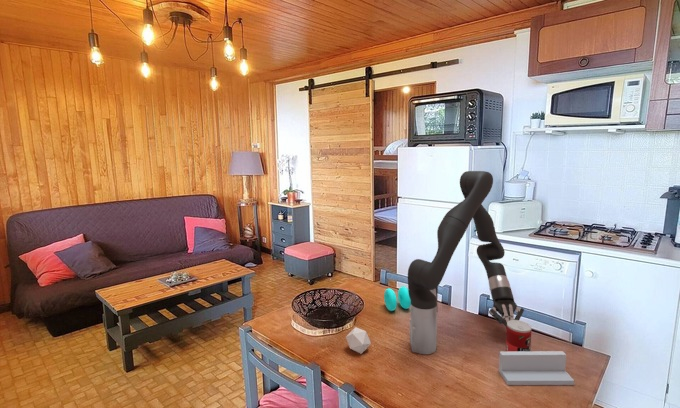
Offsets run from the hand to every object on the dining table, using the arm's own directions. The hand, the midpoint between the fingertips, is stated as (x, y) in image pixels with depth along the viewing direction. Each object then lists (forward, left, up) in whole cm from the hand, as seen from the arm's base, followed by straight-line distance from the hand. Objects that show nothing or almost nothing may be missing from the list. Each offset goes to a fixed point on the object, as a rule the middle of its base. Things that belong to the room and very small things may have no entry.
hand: (512, 334), depth 132 cm
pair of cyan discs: (-38, +32, -5) cm, 50 cm away
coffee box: (-24, +32, -5) cm, 40 cm away
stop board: (0, -18, -5) cm, 18 cm away
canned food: (0, -5, -5) cm, 7 cm away
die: (-56, -1, -5) cm, 56 cm away
